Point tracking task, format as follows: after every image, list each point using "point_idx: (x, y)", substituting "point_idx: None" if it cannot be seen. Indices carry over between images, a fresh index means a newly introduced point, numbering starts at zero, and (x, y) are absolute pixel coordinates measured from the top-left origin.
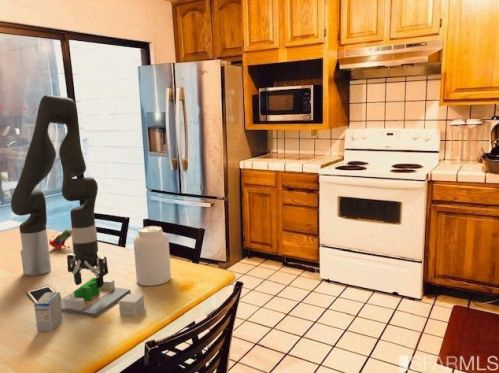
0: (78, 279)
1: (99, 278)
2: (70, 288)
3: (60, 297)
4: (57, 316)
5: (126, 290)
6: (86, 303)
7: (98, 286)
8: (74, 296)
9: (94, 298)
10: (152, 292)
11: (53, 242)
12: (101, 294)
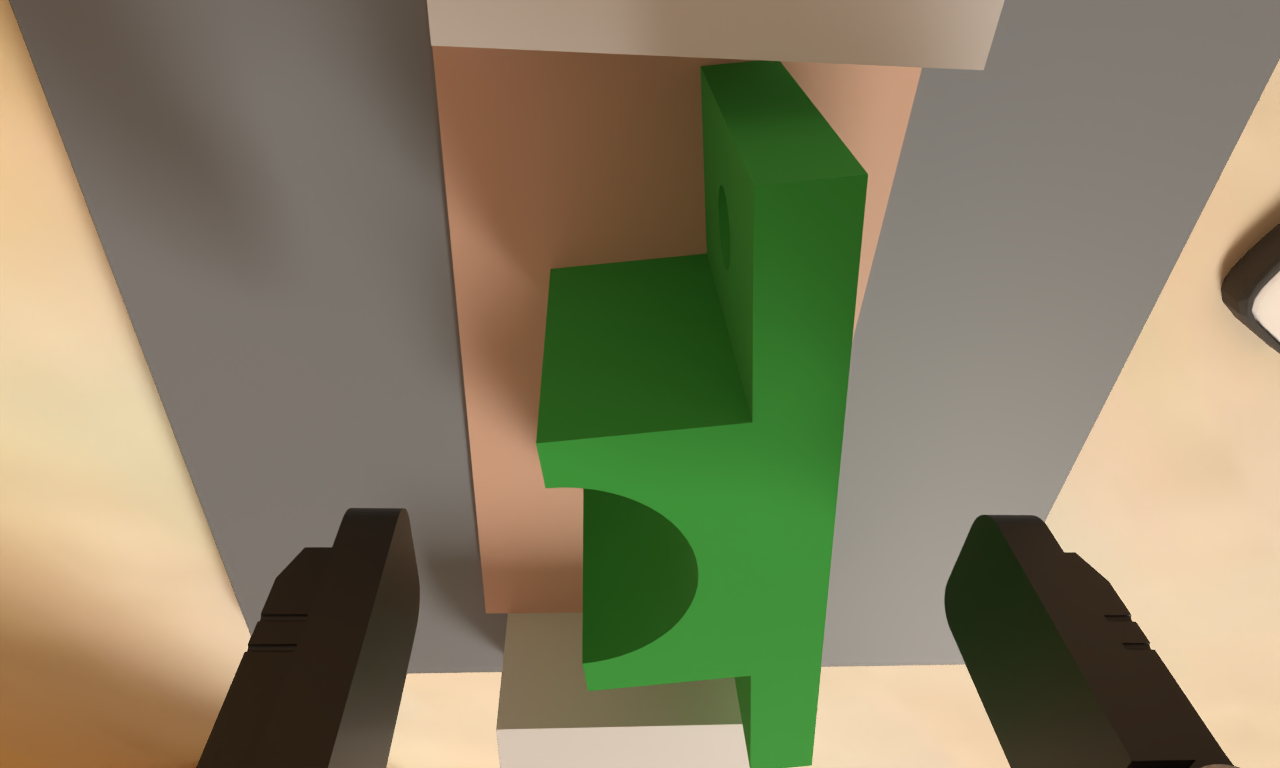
0: (1021, 648)
1: (232, 766)
2: (1184, 558)
3: (1245, 303)
4: None
5: None
6: (563, 158)
7: (340, 539)
8: (822, 119)
9: None
10: (16, 688)
11: None
12: (548, 492)
